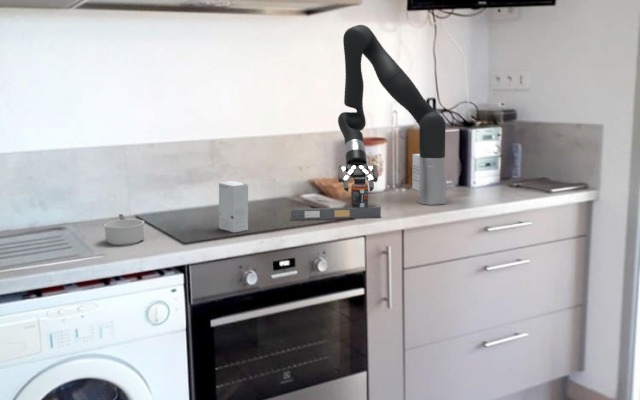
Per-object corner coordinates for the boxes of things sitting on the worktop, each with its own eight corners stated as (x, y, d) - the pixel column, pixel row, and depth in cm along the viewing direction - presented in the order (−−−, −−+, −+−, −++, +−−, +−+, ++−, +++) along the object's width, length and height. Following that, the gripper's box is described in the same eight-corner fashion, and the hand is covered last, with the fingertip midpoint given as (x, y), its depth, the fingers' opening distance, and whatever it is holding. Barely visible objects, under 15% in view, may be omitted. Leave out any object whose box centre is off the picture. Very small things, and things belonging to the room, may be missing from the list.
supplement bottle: (366, 211, 226) (366, 179, 224) (350, 210, 227) (350, 179, 225) (369, 207, 232) (369, 176, 230) (352, 207, 233) (352, 176, 231)
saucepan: (141, 230, 202) (140, 212, 201) (147, 244, 183) (146, 225, 182) (102, 233, 198) (101, 215, 197) (105, 248, 179) (104, 229, 178)
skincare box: (218, 229, 201) (216, 182, 198) (234, 226, 205) (232, 180, 202) (234, 233, 195) (232, 185, 192) (250, 230, 199) (248, 182, 196)
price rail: (380, 216, 216) (380, 206, 215) (380, 217, 214) (380, 207, 213) (290, 219, 214) (290, 209, 213) (291, 220, 212) (290, 210, 211)
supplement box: (430, 187, 274) (431, 152, 272) (441, 190, 266) (441, 154, 263) (411, 188, 272) (411, 153, 269) (421, 192, 263) (421, 155, 260)
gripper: (337, 148, 234) (340, 184, 225) (375, 147, 235) (380, 183, 226) (335, 161, 240) (338, 196, 231) (373, 160, 241) (377, 195, 232)
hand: (359, 190), depth 228 cm, fingers open, 8 cm apart
